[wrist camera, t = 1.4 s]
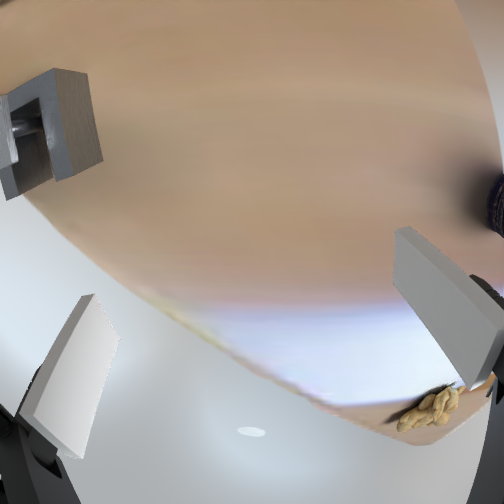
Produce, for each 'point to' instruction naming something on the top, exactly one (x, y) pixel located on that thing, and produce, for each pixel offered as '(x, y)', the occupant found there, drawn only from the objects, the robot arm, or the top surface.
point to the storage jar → (496, 207)
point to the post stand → (14, 132)
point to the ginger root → (431, 410)
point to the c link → (52, 130)
